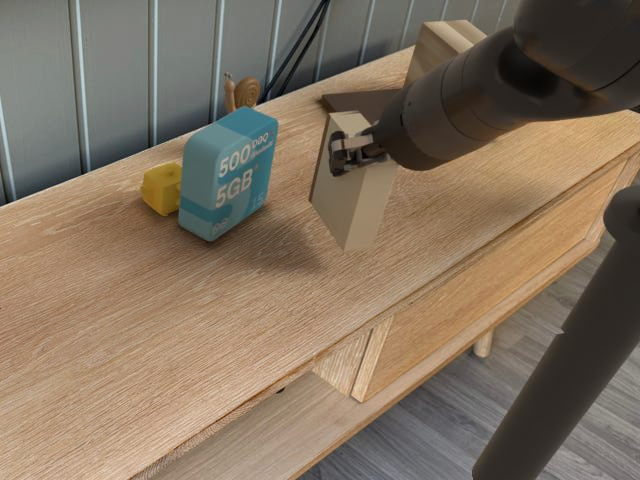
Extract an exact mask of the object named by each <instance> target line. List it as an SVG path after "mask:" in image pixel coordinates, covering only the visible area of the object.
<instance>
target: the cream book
mask: <svg viewBox="0 0 640 480" xmlns="http://www.w3.org/2000/svg"><path fill="white" fill-rule="evenodd" d="M368 127H371V125H370V124H369V123H368V121H367V120H366V119H365V118H364V117H363V116H362V115H361V113H360V112H359V111H358V110H356V111H345V112H334V113H331V112H328V113H327V114H326V119H325V123H324V127H323V132H322V135H321V136H322V137H321V140H320V145H319V149H318V154H317V159H316V162H315V168H314V173H313V177H312V181H311V186H310V190H309V195H308V202H309V203H310V205H311V206H312V207H313V209H314V210H315V212H316V213H317V215H318V217H319V219H321V221H322V223H323V224H324V226H325V227H326V228H327V230H328V232H329V233H330V234H331V236H332V237H333V239H334V240H335V243H337V245H338V246H339V248H340V250H341V251H342V252H343V253H347V252H353V251H361V250H371V249H373V247H374V245H375V241H376V239H377V234H378V232H379V228H380V225H381V222H382V219H383V216H384V212H385V209H386V206H387V203H388V200H389V197H390V194H391V191H392V188H393V184H394V182H395V178H396V175H397V173H398V170H399V166H400V165H397V163H396V162H395V161H394V162H392V163H382V164H379V165H377V166H374V167H372V168H356V169H353V170H352V171H349V172H348V173H346V174H344V175H342V176H339V177H333V175H332V173H330V167H329V159H330V157H329V151H328V143H329V139H330V136H331V134H332V133H334V132H335V131H344V134H346V133H347V134H348V137H349V138H353V137H354V136H355V134H356V133H358V132H360V131H362V130H364V129H366V128H368ZM355 156H356V150H355Z"/></svg>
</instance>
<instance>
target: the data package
mask: <svg viewBox="0 0 640 480" xmlns="http://www.w3.org/2000/svg"><path fill="white" fill-rule="evenodd" d="M279 126H280V125H279V122H278V119H276V118H274V117H273V116H270V115H268V114H265V113H263V112H261V111H258V110H256V109H255V108H254V109H251V108H249V107H247V106H243V107H241V108H239V109H237V110H235V111H234V112H232V113H230V114H228V113H227V114H226V115H224V116H223V117H221V118H219V119H218V120H216V121H214V122H213V123H211V124H209V125H207V126H205V127H204V128H201V129H200V130H198V131H197V132H195V133H193V134H191V136H190V137H188V139H187V140H186V142H185V144H184V146H183V150H182V165H181V167H182V175H181V189H180V203H179V209H178V218H177V219H178V221H177V223H178V225H179V227H181V228H183V229H185V230H187V231H188V232H190V233H191V234H194V235H195V236H196V237H197V236H198V237H199V238H201V239H202V240H205V241H207V242H209V243H210V242H214V241H216V240H217V239H218V238H220V237H221V236H223V235H224V234H225V233H227V232H228V231H229V230H231V229H232V228H234V227H235V226H237V225H239V223H241V222H242V221H244V220H246V219H247V218H249V216H250V215H252V214H254V213H255V212H256V211H258V210H259V209H260V208H261V207H262V205H263V204H264V202H265V201H266V198H267V194H268V190H269V184H270V178H271V173H272V167H273V161H274V155H275V150H276V145H277V144H276V143H277V138H278V132H279Z"/></svg>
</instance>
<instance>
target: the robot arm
mask: <svg viewBox="0 0 640 480" xmlns="http://www.w3.org/2000/svg"><path fill="white" fill-rule="evenodd" d="M513 17H514V18H513V24H509V25H506V26H504V27H502V28H500V29H497V30H495V31H493V32H491V33H490V34H488V35H487V37H486V38H484V39H483V40H481V41H480V42H478V43H477V44H475V45H474V46H472V47H471V48H469V49H468V50H466V51H465V52H463V53H462V54H460V55H458V56H456V57H453V58H451V59H449V60H447V61H444V62H443V63H441V64H439V65H438V66H436V67H435V68H433V69H432V70H430V71H429V72H427V73H426V74H424V75H423V76H421V77H420V78H418V79H417V80H415V81H414V82H412V83H411V84H409V85H408V86H406V87H405V88H403V87H402V88H403V89H402V90H400V91H399V92H397V93H396V94H395V95H394V96H393V97H392V98H391V99H390V100H389V101H388V103H387V104H386V106H385V108H384V110H383V112H382V115H381V117H380V119H379V120H378V121H376V122H374V124H373V126H371V127H368V128H366V129H364V130H362V131H360V132H358V133H356V134H355V136H354V137H353V138H349V137H348V134H347V133H346V134H344V131H335V132H334V133H332V134H331V136H330V139H329V143H328V151H329V157H330V159H329V167H330V173H332V175H333V177H339V176H342V175H344V174H346V173H348V172H349V171H352V170H353V169H356V168H372V167H374V166H377V165H379V164H382V163H392V162H394V161H395V162H396V163H397V165H399V166H401V167H403V168H405V169H406V170H409V171H413V172H414V171H415V172H427V171H431V170H433V169H436V168H438V167H442V166H443V165H445V164H448V163H450V162H453V161H455V160H457V159H459V158H462V157H464V156H467V155H468V154H471V153H473V152H476V151H478V150H480V149H483V148H484V147H485V146H488V145H489V144H491V143H492V142H494V140H496V139H498V138H500V137H502V136H505V135H506V134H509V133H512V132H513V131H516V130H517V129H520V128H522V127H525V126H527V125H529V124H531V123H546V122H549V123H550V122H559V121H568V120H575V119H584V118H593V117H600V116H605V115H611V114H615V113H619V112H622V111H626V110H629V109H633V108H635V107H638V106H640V0H518V3H517V6H516V9H515V13H514V16H513ZM355 150H356V156H355ZM638 212H639V214H640V204H639V206H638Z"/></svg>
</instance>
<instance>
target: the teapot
mask: <svg viewBox="0 0 640 480" xmlns="http://www.w3.org/2000/svg"><path fill="white" fill-rule="evenodd" d="M181 175H182V165H179V164H178V163H176V161H172V162H169V163H168V162H167V163H166V164H163V165H160V166H156V167H154V168H152V169H149V170H147V171H145V172H144V173H143V179H142V186H140V187H139V188H138V189H139V190H140V192H141V198H142V201H144V202H145V203H146V204H147V206H149V207H150V208H151V209H153V211H155V212H156V213H158V214H159V215H160V216H162V217H168V216H169V215H170V213H173V212H176V211H179V203H180V189H181Z"/></svg>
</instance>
